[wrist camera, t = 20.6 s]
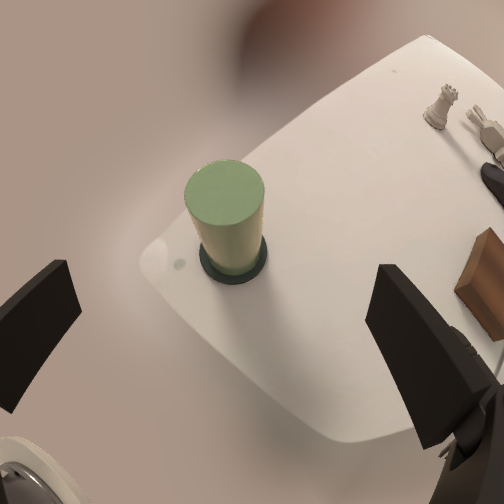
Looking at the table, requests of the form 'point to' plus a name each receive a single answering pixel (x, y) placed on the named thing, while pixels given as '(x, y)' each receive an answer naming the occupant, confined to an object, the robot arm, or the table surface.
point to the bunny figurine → (489, 133)
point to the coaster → (227, 278)
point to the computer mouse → (494, 180)
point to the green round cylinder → (227, 214)
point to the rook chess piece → (441, 107)
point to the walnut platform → (485, 283)
